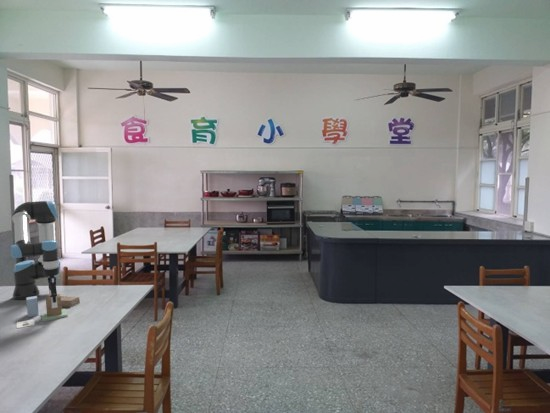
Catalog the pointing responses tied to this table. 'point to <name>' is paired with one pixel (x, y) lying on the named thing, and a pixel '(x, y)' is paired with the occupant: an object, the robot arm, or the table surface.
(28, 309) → the bluegrey block
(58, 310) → the walnut block
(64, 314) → the pad
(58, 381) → the table surface
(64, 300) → the brick
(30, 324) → the page
